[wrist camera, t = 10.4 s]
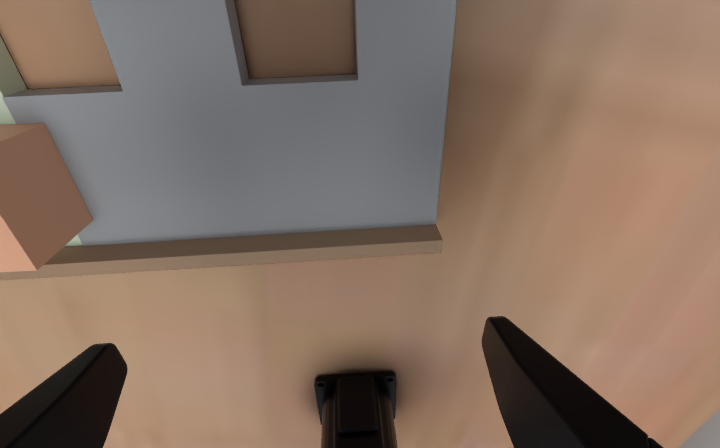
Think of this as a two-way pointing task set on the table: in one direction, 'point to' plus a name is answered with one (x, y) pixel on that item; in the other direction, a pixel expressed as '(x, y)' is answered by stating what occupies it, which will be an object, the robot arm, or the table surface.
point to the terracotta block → (35, 199)
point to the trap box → (246, 142)
